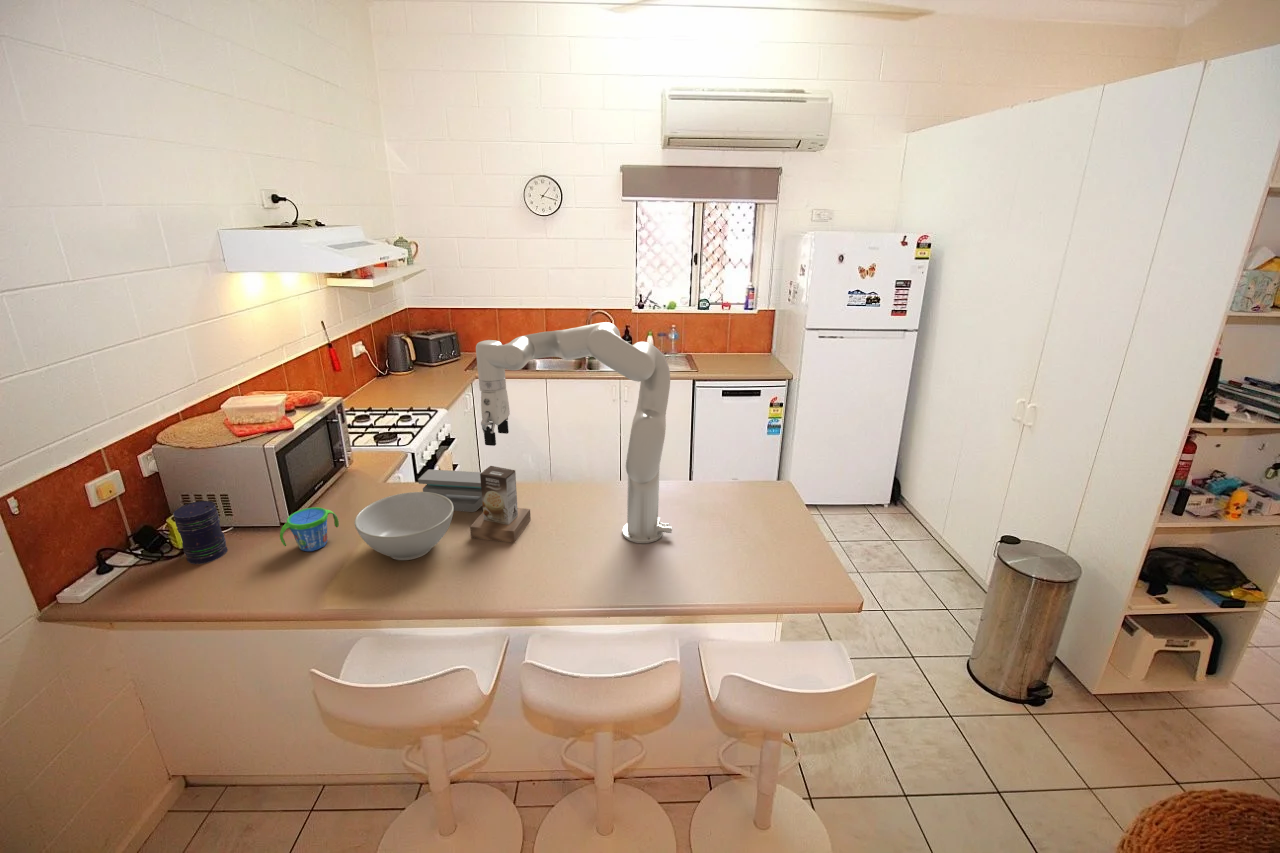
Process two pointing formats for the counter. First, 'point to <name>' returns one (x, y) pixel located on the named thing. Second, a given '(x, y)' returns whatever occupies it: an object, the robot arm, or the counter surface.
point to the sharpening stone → (455, 487)
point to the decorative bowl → (405, 523)
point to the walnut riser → (500, 528)
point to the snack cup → (309, 528)
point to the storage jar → (200, 532)
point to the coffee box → (499, 494)
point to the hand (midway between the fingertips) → (497, 438)
